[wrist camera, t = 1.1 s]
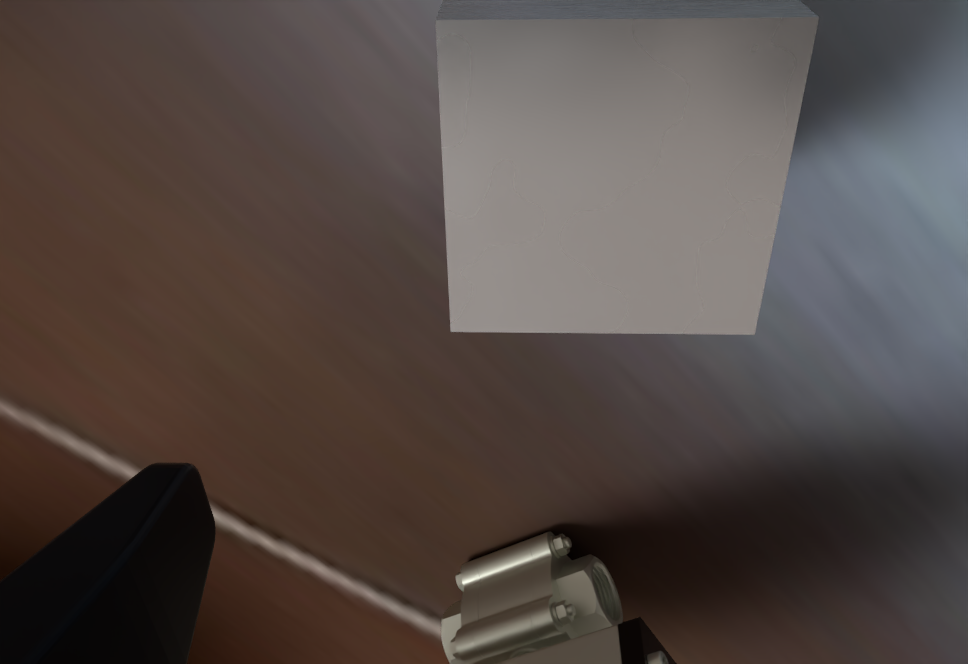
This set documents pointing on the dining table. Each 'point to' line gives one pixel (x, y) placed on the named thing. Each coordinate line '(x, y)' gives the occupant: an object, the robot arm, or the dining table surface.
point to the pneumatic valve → (543, 611)
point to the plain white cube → (616, 160)
